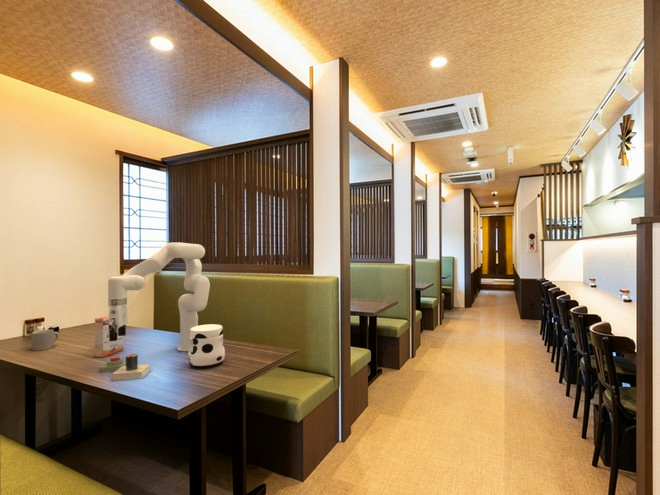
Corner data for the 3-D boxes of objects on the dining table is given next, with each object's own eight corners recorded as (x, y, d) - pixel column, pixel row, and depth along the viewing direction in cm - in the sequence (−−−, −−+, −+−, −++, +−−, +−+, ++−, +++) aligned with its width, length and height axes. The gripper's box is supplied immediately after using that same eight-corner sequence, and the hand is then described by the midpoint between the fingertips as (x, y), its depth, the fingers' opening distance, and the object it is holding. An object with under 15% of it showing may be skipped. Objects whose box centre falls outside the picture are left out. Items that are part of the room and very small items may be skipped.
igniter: (129, 364, 168) (129, 356, 168) (122, 370, 160) (122, 362, 160) (107, 366, 167) (107, 358, 167) (99, 372, 159) (99, 363, 159)
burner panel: (150, 370, 160) (149, 363, 160) (142, 378, 150) (141, 371, 150) (122, 372, 158) (122, 365, 158) (112, 380, 148) (112, 373, 148)
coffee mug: (35, 351, 193) (35, 334, 194) (28, 349, 199) (28, 332, 199) (63, 345, 205) (63, 329, 205) (56, 343, 210) (56, 327, 210)
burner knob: (128, 367, 156) (128, 353, 156) (139, 366, 157) (139, 352, 157) (123, 370, 151) (123, 356, 151) (135, 370, 152) (135, 356, 152)
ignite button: (120, 359, 166) (120, 355, 166) (117, 361, 162) (117, 358, 162) (112, 359, 165) (112, 356, 165) (109, 362, 161) (109, 358, 161)
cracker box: (103, 357, 180) (103, 318, 180) (94, 357, 181) (93, 318, 182) (124, 350, 194) (124, 313, 194) (115, 349, 195) (115, 313, 195)
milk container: (231, 359, 174) (231, 324, 174) (212, 371, 157) (212, 332, 158) (201, 357, 178) (201, 323, 178) (180, 368, 161) (179, 331, 162)
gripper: (118, 304, 154) (118, 342, 154) (132, 299, 171) (133, 333, 171) (100, 305, 152) (100, 343, 152) (116, 300, 169) (116, 334, 169)
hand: (117, 338), depth 161 cm, fingers open, 9 cm apart
